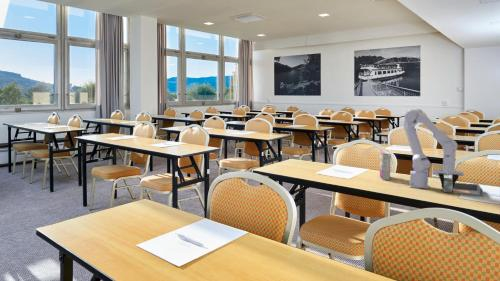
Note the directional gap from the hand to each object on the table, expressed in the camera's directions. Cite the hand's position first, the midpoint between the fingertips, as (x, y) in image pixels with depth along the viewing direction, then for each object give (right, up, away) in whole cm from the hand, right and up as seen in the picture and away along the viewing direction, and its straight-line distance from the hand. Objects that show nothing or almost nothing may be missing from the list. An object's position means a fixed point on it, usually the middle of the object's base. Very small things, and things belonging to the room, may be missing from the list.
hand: (447, 187), depth 201 cm
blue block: (0, -1, 0) cm, 1 cm away
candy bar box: (-22, +2, +32) cm, 39 cm away
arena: (+9, -2, -2) cm, 9 cm away
